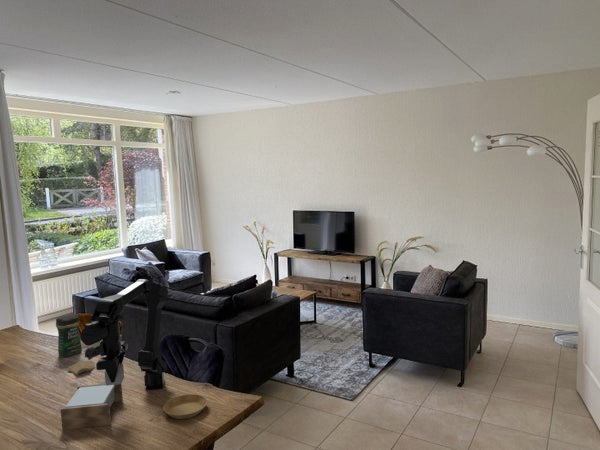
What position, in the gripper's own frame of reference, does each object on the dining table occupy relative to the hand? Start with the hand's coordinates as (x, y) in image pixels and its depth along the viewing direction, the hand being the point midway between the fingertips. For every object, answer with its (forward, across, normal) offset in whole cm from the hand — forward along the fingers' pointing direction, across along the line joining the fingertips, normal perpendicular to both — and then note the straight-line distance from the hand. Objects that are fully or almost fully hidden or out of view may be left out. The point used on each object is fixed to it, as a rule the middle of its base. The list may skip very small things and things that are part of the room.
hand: (114, 378), depth 161 cm
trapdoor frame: (+12, 0, -8) cm, 14 cm away
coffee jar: (+12, -62, -35) cm, 72 cm away
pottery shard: (+13, -40, -23) cm, 48 cm away
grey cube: (+1, 0, 0) cm, 1 cm away
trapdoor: (+10, 0, -8) cm, 13 cm away
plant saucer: (+13, +4, +24) cm, 27 cm away
